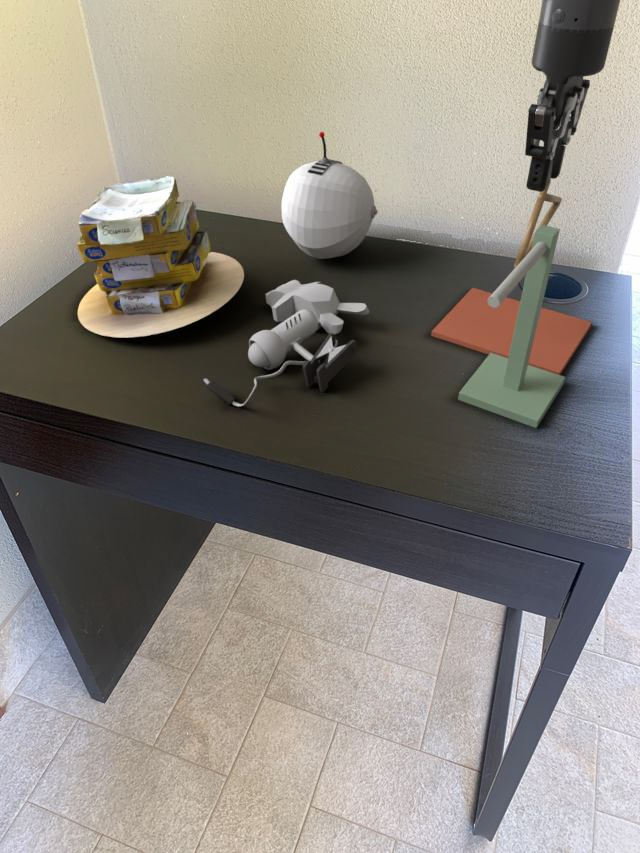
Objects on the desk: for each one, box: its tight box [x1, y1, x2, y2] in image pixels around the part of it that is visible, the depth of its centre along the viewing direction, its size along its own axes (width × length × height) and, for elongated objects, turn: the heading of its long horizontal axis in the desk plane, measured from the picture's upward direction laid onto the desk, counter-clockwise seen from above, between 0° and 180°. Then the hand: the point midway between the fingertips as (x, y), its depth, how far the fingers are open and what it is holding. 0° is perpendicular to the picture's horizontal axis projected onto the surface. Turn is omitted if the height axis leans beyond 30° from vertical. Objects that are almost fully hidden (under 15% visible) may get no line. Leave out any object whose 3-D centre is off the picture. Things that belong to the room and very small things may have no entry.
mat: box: [431, 287, 593, 376], centre depth 95 cm, size 18×14×1 cm
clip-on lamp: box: [203, 309, 358, 408], centre depth 86 cm, size 12×6×18 cm
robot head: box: [281, 131, 379, 260], centre depth 107 cm, size 16×14×20 cm
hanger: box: [513, 160, 563, 269], centre depth 84 cm, size 14×1×11 cm, turn 145°
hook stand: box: [457, 225, 566, 429], centre depth 75 cm, size 10×19×22 cm, turn 147°
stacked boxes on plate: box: [76, 175, 245, 339], centre depth 97 cm, size 25×25×17 cm
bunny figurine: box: [264, 279, 370, 335], centre depth 96 cm, size 10×5×15 cm
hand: (542, 182), depth 81 cm, fingers closed on hanger, 4 cm apart
